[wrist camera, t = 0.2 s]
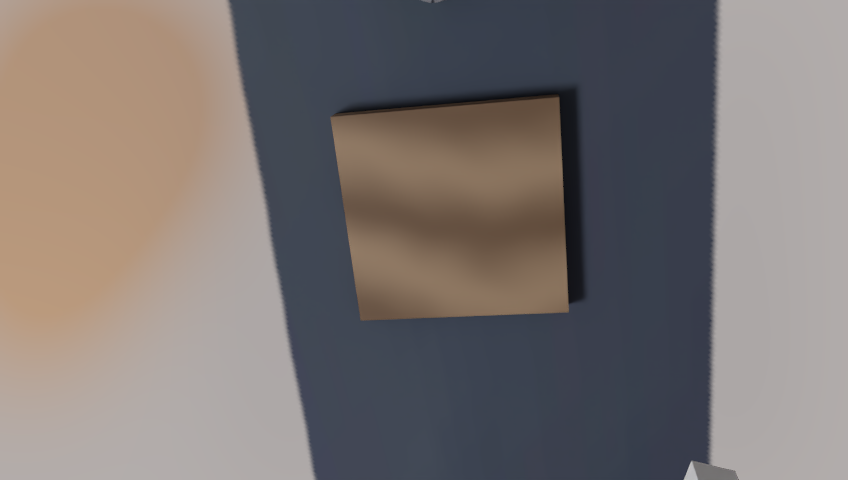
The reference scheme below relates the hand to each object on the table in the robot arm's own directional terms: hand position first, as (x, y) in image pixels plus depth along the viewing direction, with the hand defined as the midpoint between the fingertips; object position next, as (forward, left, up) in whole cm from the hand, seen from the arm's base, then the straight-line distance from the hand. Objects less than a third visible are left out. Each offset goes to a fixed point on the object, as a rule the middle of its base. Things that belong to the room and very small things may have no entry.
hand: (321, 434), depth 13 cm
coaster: (+4, +1, -27) cm, 28 cm away
